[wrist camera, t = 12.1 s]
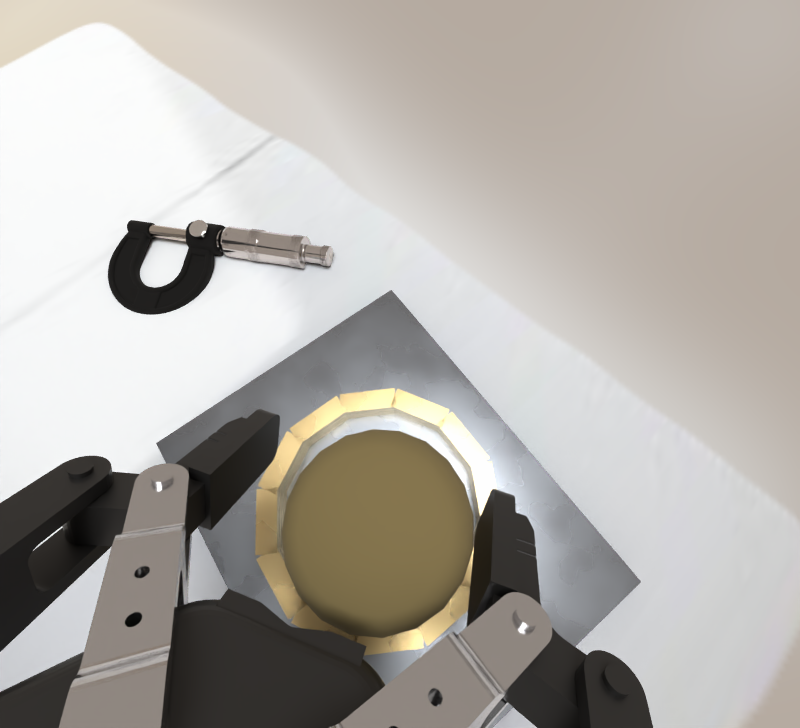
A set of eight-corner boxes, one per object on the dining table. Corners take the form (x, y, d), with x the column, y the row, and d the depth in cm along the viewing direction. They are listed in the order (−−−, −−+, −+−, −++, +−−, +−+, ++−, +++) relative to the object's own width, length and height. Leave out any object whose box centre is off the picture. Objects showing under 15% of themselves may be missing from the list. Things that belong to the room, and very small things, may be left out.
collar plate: (167, 446, 22) (137, 438, 20) (392, 298, 25) (390, 276, 23) (363, 836, 16) (355, 892, 14) (630, 578, 19) (660, 587, 17)
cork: (335, 591, 18) (235, 696, 8) (333, 461, 20) (252, 412, 10) (462, 580, 18) (526, 671, 8) (446, 451, 20) (480, 392, 10)
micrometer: (98, 308, 26) (66, 288, 24) (142, 225, 28) (117, 199, 26) (309, 344, 25) (298, 327, 22) (336, 253, 27) (329, 228, 25)
